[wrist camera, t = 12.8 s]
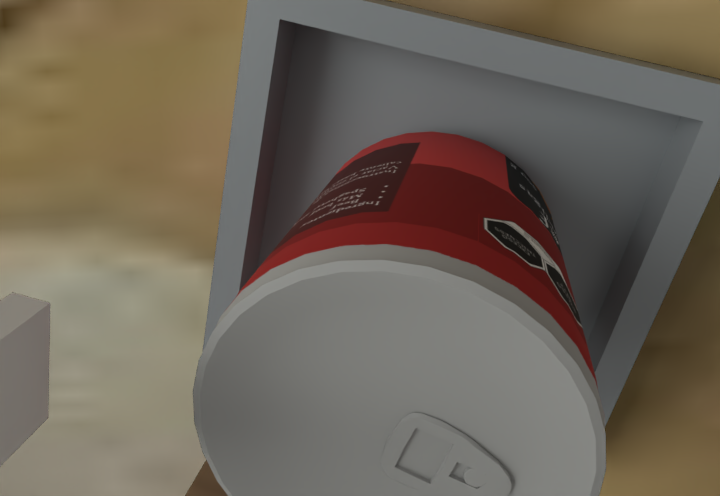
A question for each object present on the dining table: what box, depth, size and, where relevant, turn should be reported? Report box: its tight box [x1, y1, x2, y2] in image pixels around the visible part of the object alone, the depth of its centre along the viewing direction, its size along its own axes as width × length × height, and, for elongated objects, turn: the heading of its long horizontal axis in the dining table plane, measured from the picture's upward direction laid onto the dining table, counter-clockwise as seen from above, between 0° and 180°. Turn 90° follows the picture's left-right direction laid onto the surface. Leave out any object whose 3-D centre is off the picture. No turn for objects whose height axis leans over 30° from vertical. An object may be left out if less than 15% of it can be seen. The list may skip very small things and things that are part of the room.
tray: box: [203, 0, 720, 426], centre depth 22 cm, size 14×14×2 cm
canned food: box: [193, 131, 606, 496], centre depth 17 cm, size 8×8×11 cm
